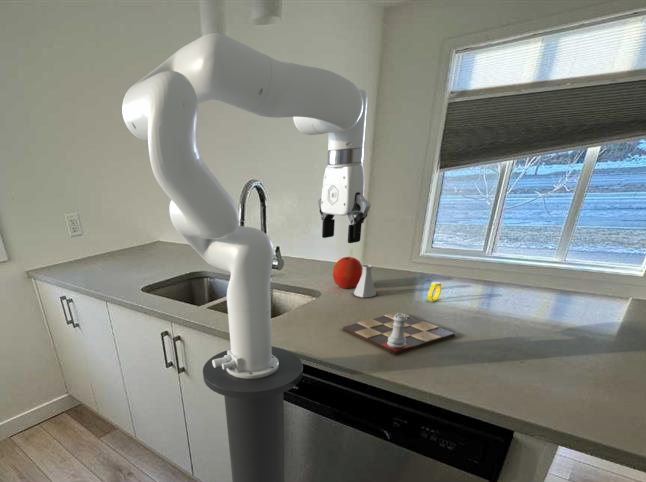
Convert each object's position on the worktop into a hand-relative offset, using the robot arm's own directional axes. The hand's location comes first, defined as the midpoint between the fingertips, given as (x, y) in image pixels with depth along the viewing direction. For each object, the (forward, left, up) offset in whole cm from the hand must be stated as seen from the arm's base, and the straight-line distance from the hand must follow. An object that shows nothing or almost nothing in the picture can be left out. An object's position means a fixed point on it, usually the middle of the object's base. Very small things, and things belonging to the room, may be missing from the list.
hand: (340, 239), depth 97 cm
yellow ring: (+44, +7, -26) cm, 52 cm away
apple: (+33, +36, -26) cm, 56 cm away
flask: (+32, +25, -26) cm, 48 cm away
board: (+16, -6, -26) cm, 31 cm away
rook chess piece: (+9, -13, -25) cm, 30 cm away
